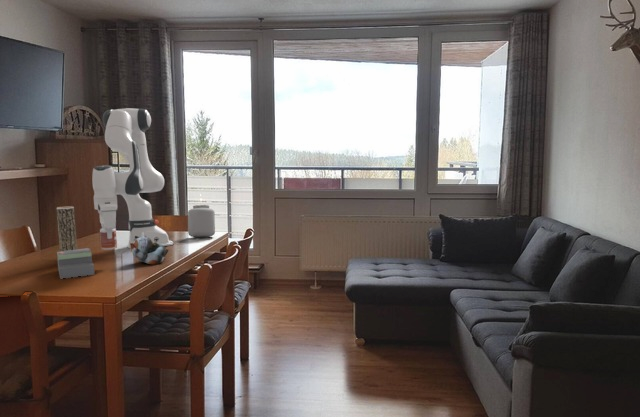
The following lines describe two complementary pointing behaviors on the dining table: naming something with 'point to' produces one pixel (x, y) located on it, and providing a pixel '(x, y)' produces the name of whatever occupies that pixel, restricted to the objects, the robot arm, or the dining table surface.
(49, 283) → the dining table surface
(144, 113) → the robot arm
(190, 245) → the dining table surface
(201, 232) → the jar
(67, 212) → the bark log
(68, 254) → the stepped stand
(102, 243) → the pill bottle
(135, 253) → the blue-grey lumpy figure
